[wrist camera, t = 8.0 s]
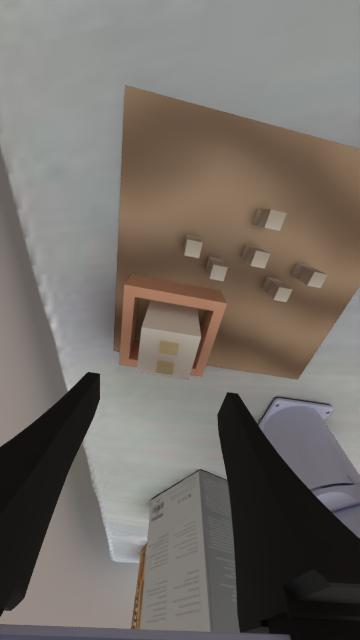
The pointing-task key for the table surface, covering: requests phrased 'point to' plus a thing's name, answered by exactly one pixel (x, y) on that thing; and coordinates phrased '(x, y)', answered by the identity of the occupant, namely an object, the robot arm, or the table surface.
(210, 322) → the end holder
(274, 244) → the board
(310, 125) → the table surface
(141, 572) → the candy box
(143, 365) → the connector plug
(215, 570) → the hard drive box
